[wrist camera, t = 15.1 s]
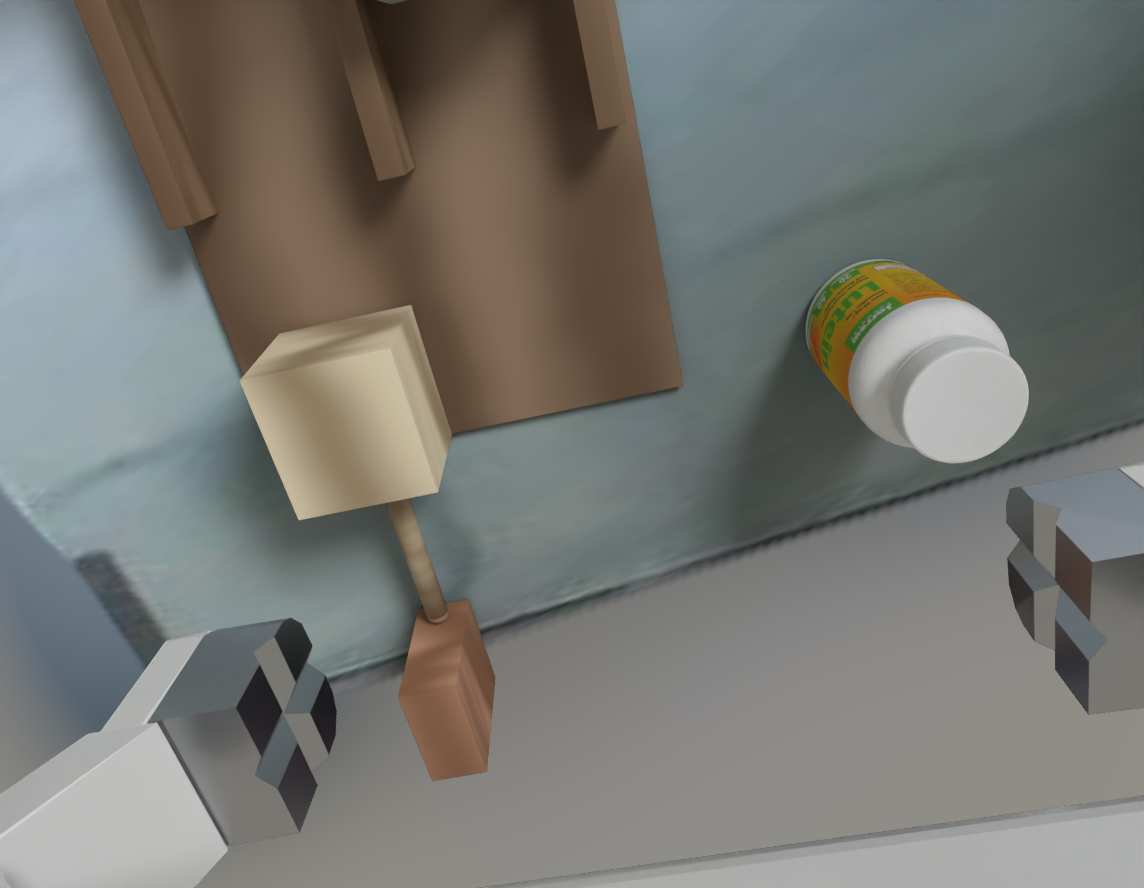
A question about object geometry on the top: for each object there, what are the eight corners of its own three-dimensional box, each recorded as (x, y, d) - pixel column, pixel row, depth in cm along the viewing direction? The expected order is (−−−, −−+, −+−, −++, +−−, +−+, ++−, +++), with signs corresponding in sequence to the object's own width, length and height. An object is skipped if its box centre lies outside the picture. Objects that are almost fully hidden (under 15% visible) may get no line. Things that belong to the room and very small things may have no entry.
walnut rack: (551, -352, 27) (547, -465, 21) (682, 382, 37) (703, 443, 31) (19, -204, 29) (-121, -270, 23) (283, 464, 39) (233, 538, 33)
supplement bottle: (835, 239, 35) (928, 302, 26) (956, 279, 35) (1086, 353, 27) (782, 361, 37) (851, 458, 28) (897, 396, 37) (1000, 502, 29)
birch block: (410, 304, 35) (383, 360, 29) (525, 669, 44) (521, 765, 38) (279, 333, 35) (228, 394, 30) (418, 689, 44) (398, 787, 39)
